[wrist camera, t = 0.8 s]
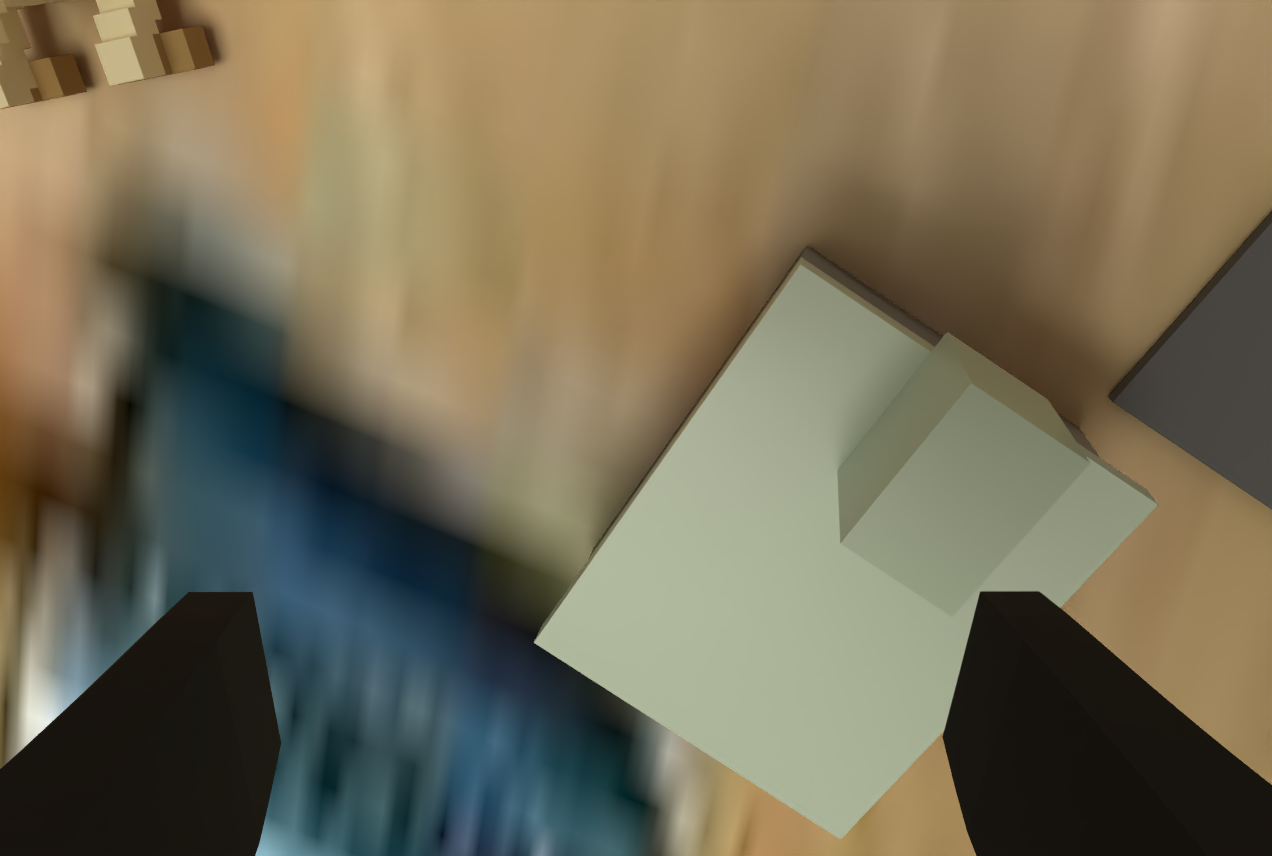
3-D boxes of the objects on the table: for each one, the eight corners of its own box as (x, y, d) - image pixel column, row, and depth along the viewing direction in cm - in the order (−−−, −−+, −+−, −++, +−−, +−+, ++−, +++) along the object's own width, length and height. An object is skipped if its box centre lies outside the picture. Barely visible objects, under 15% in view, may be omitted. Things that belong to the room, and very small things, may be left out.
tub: (1080, 429, 25) (1124, 492, 22) (834, 707, 29) (837, 802, 25) (806, 245, 25) (804, 277, 21) (592, 550, 29) (559, 623, 25)
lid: (1155, 460, 22) (1242, 565, 17) (839, 800, 26) (843, 957, 22) (815, 231, 22) (814, 278, 17) (548, 612, 26) (489, 732, 21)
